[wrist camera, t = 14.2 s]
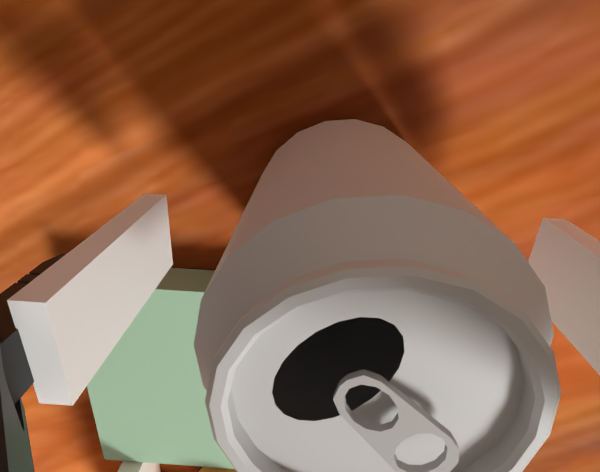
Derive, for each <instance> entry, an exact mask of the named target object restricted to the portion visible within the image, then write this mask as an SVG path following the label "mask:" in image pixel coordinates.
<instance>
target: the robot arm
mask: <svg viewBox="0 0 600 472" xmlns="http://www.w3.org/2000/svg"><path fill="white" fill-rule="evenodd" d="M528 263H529V264H530V266H531V267H532V269H533V270H534V272H535V273H536V274H537V276H538V277H539V279H540V280H541V282H542V283H543V285H544V286H545V289H546V295H547V300H548V306H549V311H550V317H551V321H552V322H553V323H554V324H555V326H556V327H557V328H558V329H559V330H560V331H561V332H562V333H563V334H564V336H565V337H566V338H567V339H568V340H569V341H570V342H571V343H572V345H573V346H574V347H575V348H576V349H577V350H578V351H579V352H580V354H581V355H582V356H583V357H584V358H585V359H586V360H587V361H588V363H589V364H590V365H591V366H592V367H593V368H594V369H595V370H596V371H597V373H598V374H599V375H600V241H599V240H597V239H596V238H594V237H593V236H591V235H590V234H588V233H586V232H585V231H583V230H582V229H580V228H579V227H577V226H576V225H574V224H572V223H571V222H569V221H568V220H566V219H558V218H543V219H542V222H541V225H540V228H539V231H538V234H537V237H536V240H535V243H534V246H533V249H532V252H531V255H530V258H529V261H528ZM172 265H173V259H172V248H171V238H170V228H169V218H168V208H167V198H166V195H160V194H143V195H142V196H141V197H139V198H138V199H137V200H136V201H134V202H133V203H132V204H130V205H129V206H128V207H127V208H125V209H124V210H123V211H121V212H120V213H119V214H118V215H116V216H115V217H114V218H112V219H111V220H110V221H109V222H107V223H106V224H105V225H103V226H102V227H101V228H99V229H98V230H97V231H96V232H94V233H93V234H92V235H90V236H89V237H88V238H87V239H85V240H84V241H83V242H81V243H80V244H79V245H78V246H76V247H75V248H74V249H72V250H71V251H70V252H68V253H67V254H61V255H59V256H56V257H54V258H52V259H49V260H47V261H45V262H43V263H41V264H40V265H39V266H37V267H36V268H35V269H33V270H32V271H31V272H29V274H27V275H25V276H24V277H23V278H21V279H20V280H18V283H14V284H13V285H12V286H10V287H9V288H8V289H6V290H5V291H4V292H2V293H1V294H0V472H35V471H34V465H33V459H32V453H31V447H30V441H29V435H28V429H27V423H26V416H25V410H24V407H23V404H22V401H21V397H22V395H23V394H24V393H25V392H26V391H27V390H28V389H29V387H30V386H31V385H32V384H33V385H34V388H35V391H36V395H37V398H38V401H39V403H44V404H58V405H72V406H73V405H74V403H75V402H76V400H77V399H78V398H79V396H80V395H81V393H82V392H83V391H84V389H85V388H86V386H87V385H88V383H89V382H90V381H91V379H92V378H93V376H94V375H95V374H96V372H97V371H98V369H99V368H100V366H101V365H102V364H103V362H104V361H105V359H106V358H107V357H108V355H109V354H110V352H111V351H112V350H113V348H114V347H115V345H116V344H117V342H118V341H119V340H120V338H121V337H122V335H123V334H124V333H125V331H126V330H127V328H128V327H129V326H130V324H131V323H132V321H133V320H134V318H135V317H136V316H137V314H138V313H139V311H140V310H141V309H142V307H143V306H144V304H145V303H146V301H147V300H148V299H149V297H150V296H151V294H152V293H153V292H154V290H155V289H156V287H157V286H158V285H159V283H160V282H161V280H162V279H163V277H164V276H165V275H166V273H167V272H168V270H169V269H170V268H171V266H172Z"/></svg>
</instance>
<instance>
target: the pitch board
mask: <svg viewBox="0 0 600 472" xmlns="http://www.w3.org/2000/svg"><path fill="white" fill-rule="evenodd" d="M214 272H215V270H199V269H184V268H170V269H169V270H168V272H167V273H166V275H165V276H164V277H163V279H162V280H161V282H160V283H159V285H158V286H157V287H156V289H155V290H154V292H153V293H152V294H151V296H150V297H149V299H148V300H147V301H146V303H145V304H144V306H143V307H142V309H141V310H140V311H139V313H138V314H137V316H136V317H135V318H134V320H133V321H132V323H131V324H130V326H129V327H128V328H127V330H126V331H125V333H124V334H123V335H122V337H121V338H120V340H119V341H118V342H117V344H116V345H115V347H114V348H113V350H112V351H111V352H110V354H109V355H108V357H107V358H106V359H105V361H104V362H103V364H102V365H101V366H100V368H99V369H98V371H97V372H96V374H95V375H94V376H93V378H92V379H91V381H90V382H89V383H88V385H87V389H88V393H89V398H90V402H91V406H92V410H93V414H94V419H95V423H96V427H97V431H98V435H99V439H100V444H101V448H102V452H103V456H104V460H118V461H132V462H146V463H159V464H173V465H187V466H201V467H215V468H228V469H235V468H234V467H233V465H232V464H231V463H230V461H229V460H228V458H227V457H226V455H225V454H224V453H223V451H222V450H221V448H220V447H219V445H218V444H217V443H216V441H215V440H214V438H213V433H212V429H211V425H210V421H209V416H208V412H207V408H206V404H205V398H206V393H207V391H206V389H205V388H204V386H203V383H202V379H201V375H200V370H199V366H198V362H197V357H196V353H195V349H194V339H195V333H196V327H197V321H198V315H199V309H200V303H201V299H202V297H203V295H204V293H205V291H206V289H207V287H208V285H209V282H210V280H211V278H212V276H213V274H214Z"/></svg>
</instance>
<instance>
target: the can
mask: <svg viewBox="0 0 600 472" xmlns="http://www.w3.org/2000/svg"><path fill="white" fill-rule="evenodd" d="M552 338H553V328H552V322H551V317H550V311H549V306H548V300H547V295H546V289H545V286H544V285H543V283H542V282H541V280H540V279H539V277H538V276H537V274H536V273H535V272H534V270H533V269H532V267H531V266H530V264H529V263H528V261H527V260H526V258H525V257H524V256H523V254H522V253H521V251H520V250H519V248H518V247H517V245H516V244H515V243H514V242H513V241H512V240H511V239H510V238H509V237H508V236H507V235H506V234H504V233H503V232H502V231H501V230H500V229H499V228H498V227H497V226H496V225H495V224H494V223H493V222H492V221H491V220H489V219H488V218H487V217H486V216H485V215H484V214H483V213H482V212H481V211H480V210H479V209H478V208H477V207H476V206H474V205H473V204H472V203H471V202H470V201H469V200H468V199H467V198H466V197H465V196H464V195H463V194H462V193H461V192H459V191H458V190H457V189H456V188H455V187H454V186H453V185H452V184H451V183H450V182H449V181H448V180H447V179H446V178H444V177H443V176H442V175H441V174H440V173H439V172H438V171H437V170H436V169H435V168H434V167H433V166H432V165H431V164H429V163H428V162H427V161H426V160H425V159H424V158H423V157H422V156H421V155H420V154H419V153H418V152H417V151H416V150H415V149H413V148H412V147H411V146H410V145H409V144H408V143H407V142H406V141H404V140H403V139H401V138H400V137H398V136H397V135H395V134H394V133H392V132H391V131H389V130H388V129H386V128H385V127H383V126H380V125H376V124H372V123H368V122H364V121H361V120H357V119H347V120H333V121H324V122H321V123H319V124H317V125H314V126H312V127H309V128H307V129H304V130H302V131H299V132H297V133H296V134H295V135H294V136H293V137H292V138H290V139H289V140H288V141H287V142H286V143H285V144H283V145H282V146H281V147H280V148H279V149H278V150H276V152H275V153H274V155H273V157H272V158H271V160H270V162H269V163H268V165H267V167H266V168H265V170H264V172H263V173H262V175H261V177H260V179H259V181H258V183H257V185H256V188H255V190H254V192H253V194H252V196H251V198H250V200H249V202H248V204H247V206H246V208H245V210H244V212H243V214H242V216H241V218H240V221H239V223H238V225H237V227H236V229H235V231H234V233H233V235H232V237H231V239H230V241H229V243H228V245H227V247H226V249H225V252H224V254H223V256H222V258H221V260H220V262H219V264H218V266H217V268H216V270H215V272H214V274H213V276H212V278H211V280H210V282H209V285H208V287H207V289H206V291H205V293H204V295H203V297H202V299H201V303H200V309H199V315H198V321H197V327H196V333H195V339H194V349H195V353H196V357H197V362H198V366H199V370H200V375H201V379H202V383H203V386H204V388H205V389H206V391H207V393H206V398H205V404H206V408H207V412H208V416H209V421H210V425H211V429H212V433H213V438H214V440H215V441H216V443H217V444H218V445H219V447H220V448H221V450H222V451H223V453H224V454H225V455H226V457H227V458H228V460H229V461H230V463H231V464H232V465H233V467H234V468H235V470H236V471H237V472H522V471H523V470H524V468H525V467H526V466H527V464H528V463H529V462H530V460H531V459H532V458H533V456H534V455H535V454H536V452H537V451H538V450H539V449H540V447H541V446H542V445H543V443H544V442H545V441H546V439H547V438H548V436H549V435H550V433H551V429H552V425H553V422H554V418H555V414H556V411H557V407H558V403H559V400H560V396H561V390H560V384H559V379H558V374H557V368H556V363H555V357H554V352H553V350H552V348H551V347H550V346H551V342H552Z"/></svg>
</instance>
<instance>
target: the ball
mask: <svg viewBox="0 0 600 472" xmlns="http://www.w3.org/2000/svg"><path fill="white" fill-rule="evenodd" d="M199 472H237V471H236V470H235V469H228V468H215V467H203V468H202V469H201V470H200V471H199Z"/></svg>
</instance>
